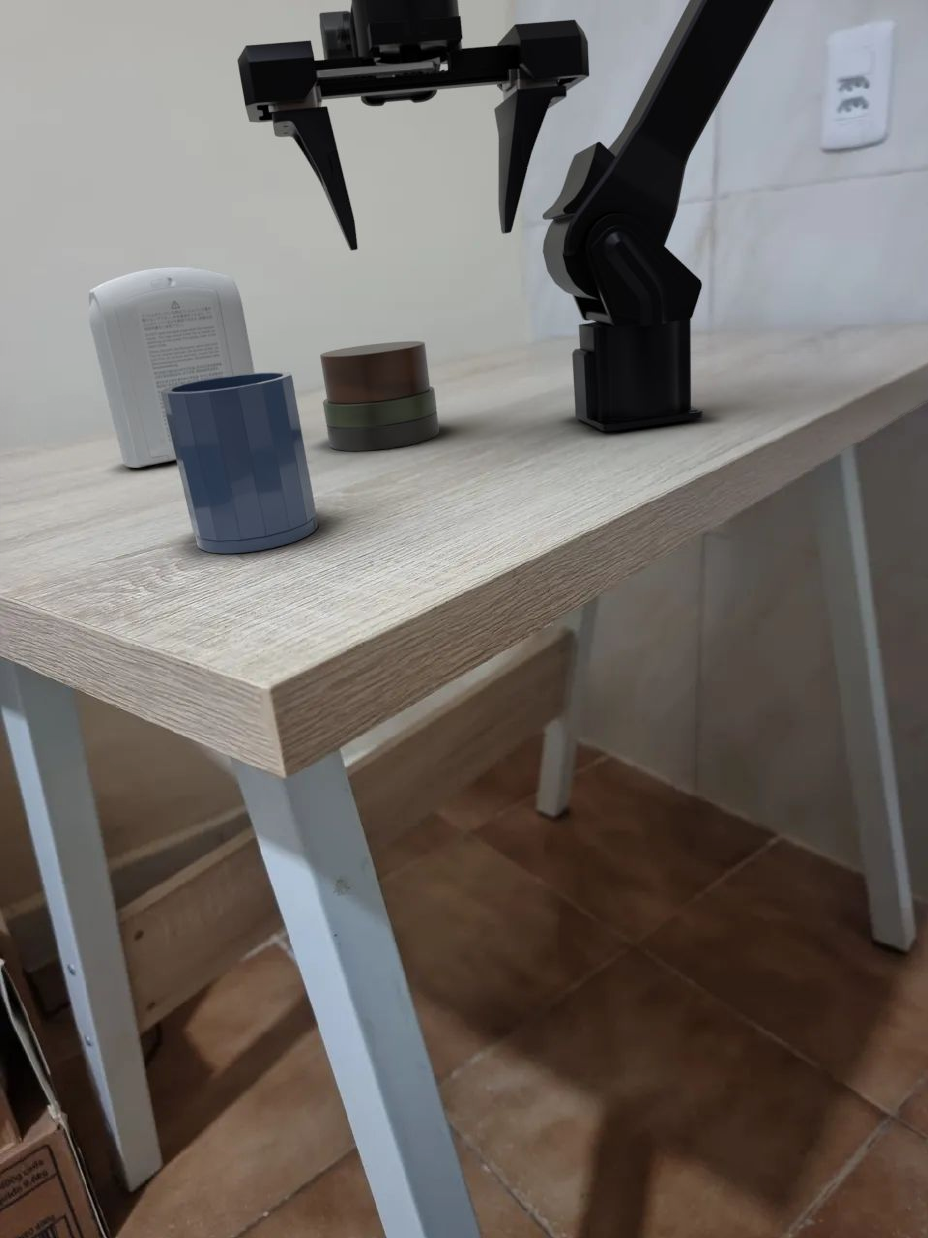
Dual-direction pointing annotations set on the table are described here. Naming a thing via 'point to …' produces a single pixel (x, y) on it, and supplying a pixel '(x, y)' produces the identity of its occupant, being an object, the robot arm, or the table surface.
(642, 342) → the robot arm
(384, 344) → the walnut chip
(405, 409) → the green and grey disc
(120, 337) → the photo printer
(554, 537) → the table surface
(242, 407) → the blue cup
